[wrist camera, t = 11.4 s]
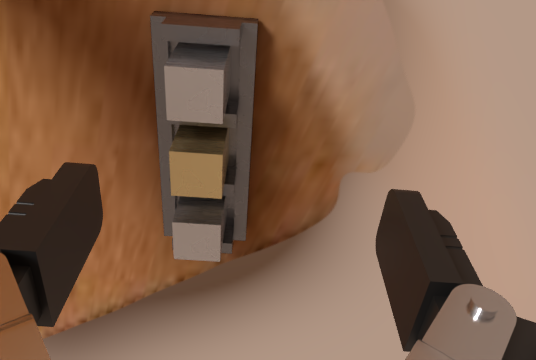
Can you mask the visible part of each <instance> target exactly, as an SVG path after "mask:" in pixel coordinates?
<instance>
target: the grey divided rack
mask: <svg viewBox="0 0 536 360" xmlns="http://www.w3.org/2000/svg"><path fill="white" fill-rule="evenodd" d="M150 20H151V36H152V51H153V67H154V83H155V98H156V114H157V129H158V145H159V161H160V176H161V192H162V208H163V223H164V236H173V239H172V246H173V250H174V259H184V260H200V261H217V262H220V259H221V253H232V247H233V240H242V241H246V228H247V210H248V193H249V175H250V157H251V139H252V121H253V103H254V86H255V68H256V50H257V32H258V19H254V18H241V17H227V16H214V15H201V14H187V13H174V12H160V11H154V12H153V13H152V14H151V15H150ZM179 125H194V126H208V127H223V128H229V154H228V166H227V171H226V177H225V183H224V189H223V195H222V199H217V198H201V197H186V196H171V182H170V162H169V150H170V147H171V145H172V143H173V140H174V138H175V135H176V133H177V130H178V128H179Z"/></svg>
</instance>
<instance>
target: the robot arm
mask: <svg viewBox="0 0 536 360" xmlns="http://www.w3.org/2000/svg"><path fill="white" fill-rule="evenodd" d="M102 219H103V210H102V202H101V194H100V186H99V178H98V171H97V168H96V166H95V165H93V164H82V163H69V162H66V163H64V164H63V165H62V166H61V168H60V169H59V170H58V172H57V173H56V174H55V176H54V177H53V178H52V180H51V179H42V180H41V181H39V182H37V183H36V184H34V185H33V186H31V187H29V188H28V189H26V191H25V192H24V193H23V194H22V196H21V197H20V198H19V199H18V201H17V204H14V206H13V207H12V208H11V209H10V211H9V214H8V215H6V216H5V217H4V218H3V219H2V221H1V222H0V360H51V359H50V357H49V354H48V352H47V349H46V347H45V344H44V342H43V339H42V337H41V334H40V332H39V329H38V327H37V326H47V327H54V325H55V323H56V321H57V319H58V317H59V315H60V312H61V310H62V308H63V306H64V304H65V302H66V300H67V298H68V296H69V294H70V292H71V290H72V288H73V286H74V284H75V282H76V280H77V278H78V276H79V274H80V272H81V270H82V268H83V266H84V264H85V262H86V260H87V258H88V255H89V253H90V251H91V249H92V247H93V245H94V243H95V241H96V239H97V237H98V235H99V233H100V230H101V226H102ZM376 254H377V258H378V261H379V265H380V269H381V272H382V276H383V279H384V283H385V287H386V290H387V294H388V298H389V301H390V305H391V308H392V312H393V316H394V319H395V322H396V326H397V330H398V333H399V337H400V341H401V344H402V348H403V351H410V353H409V354H408V356H407V358H406V359H405V360H536V323H534V322H531V321H528V320H525V319H522V318H519V317H517V316H516V313H515V311H514V309H513V307H512V306H511V305H510V303H509V302H508V301H507V300H506V299H505V298H503V297H502V296H501V295H499V294H498V293H496V292H495V291H493V290H491V289H488V288H486V287H483V285H482V283H481V282H480V280H479V278H478V276H477V274H476V272H475V270H474V268H473V266H472V264H471V262H470V260H469V258H468V256H467V255H466V253H465V251H464V250H462V245H461V243H460V241H459V239H457V235H456V233H455V232H454V230H453V228H452V226H451V224H450V222H448V221H447V220H446V219H445V218H444V217H443V216H442V215H441V214H440V213H439V212H437V211H436V210H428V208H427V207H426V204H425V202H424V200H423V198H422V196H421V194H420V192H418V191H409V190H396V189H391V190H390V191H389V192H388V195H387V199H386V202H385V205H384V209H383V213H382V216H381V220H380V224H379V227H378V231H377V236H376Z"/></svg>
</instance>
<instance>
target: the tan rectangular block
mask: <svg viewBox="0 0 536 360" xmlns="http://www.w3.org/2000/svg"><path fill="white" fill-rule="evenodd" d="M228 154H229V128H223V127H208V126H194V125H179V128H178V130H177V133H176V135H175V138H174V140H173V143H172V145H171V147H170V150H169V162H170V182H171V196H186V197H201V198H217V199H222V195H223V189H224V183H225V177H226V171H227V166H228Z"/></svg>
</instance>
